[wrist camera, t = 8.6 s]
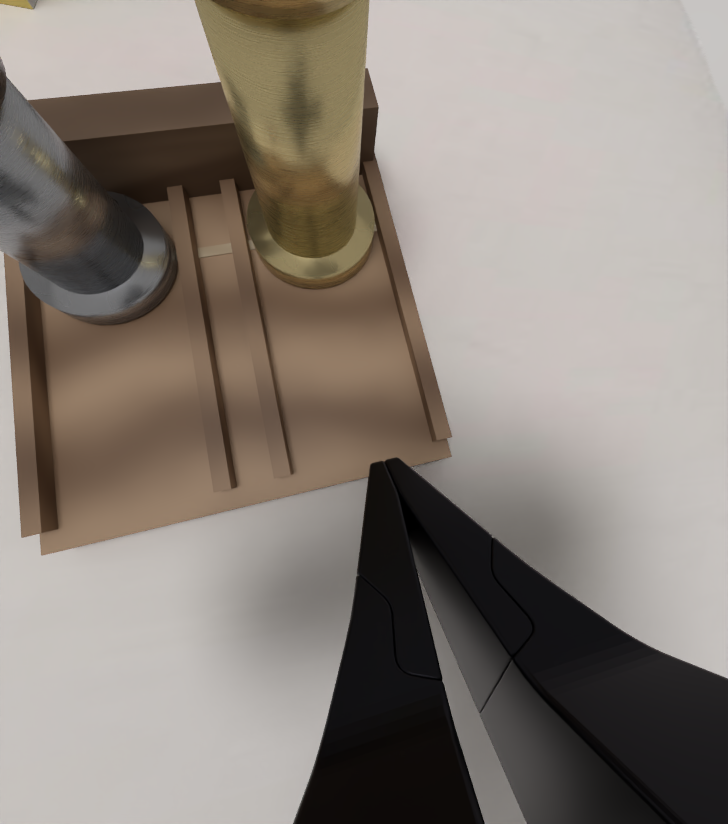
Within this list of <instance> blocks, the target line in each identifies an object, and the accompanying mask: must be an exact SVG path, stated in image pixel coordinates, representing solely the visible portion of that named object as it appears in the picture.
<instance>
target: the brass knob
mask: <svg viewBox="0 0 728 824" xmlns="http://www.w3.org/2000/svg"><path fill="white" fill-rule="evenodd" d="M195 3H196V6H197V9H198V13H199V16H200V19H201V22H202V25H203V28H204V31H205V34H206V37H207V41H208V44H209V47H210V50H211V53H212V56H213V59H214V62H215V66H216V69H217V72H218V75H219V78H220V81H221V84H222V87H223V90H224V94H225V97H226V100H227V103H228V106H229V109H230V112H231V115H232V119H233V122H234V125H235V128H236V131H237V134H238V137H239V140H240V143H241V147H242V150H243V153H244V156H245V159H246V162H247V165H248V168H249V172H250V175H251V178H252V181H253V184H254V187H255V191H254V193H253V195H252V196H251V199H250V201H249V204H248V209H247V227H248V231H249V235H250V237H251V239H252V242H253V244H254V247H255V249H256V252H257V254H258V256H259V258H260V260H261V261H262V263H263V264H264V265H265V267H266V268H267V269H268V270H269V271H270V272H271V273H272V274H273V275H275V276H276V277H278V278H279V279H281V280H282V281H284V282H286V283H289V284H291V285H294V286H297V287H301V288H308V289H321V288H328V287H332V286H335V285H338V284H341V283H343V282H345V281H347V280H348V279H350V278H351V277H353V276H354V275H355V274H356V273H357V272H358V271H359V270H360V269H361V268H362V267H363V265H364V264H365V262H366V261H367V259H368V256H369V254H370V251H371V247H372V241H373V234H374V225H375V219H374V211H373V207H372V204H371V202H370V200H369V198H368V196H367V194H366V193H365V191H364V190H363V188H362V187H361V186H360V185H359V167H360V150H361V133H362V115H363V98H364V81H365V64H366V47H367V29H368V12H369V0H195Z"/></svg>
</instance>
